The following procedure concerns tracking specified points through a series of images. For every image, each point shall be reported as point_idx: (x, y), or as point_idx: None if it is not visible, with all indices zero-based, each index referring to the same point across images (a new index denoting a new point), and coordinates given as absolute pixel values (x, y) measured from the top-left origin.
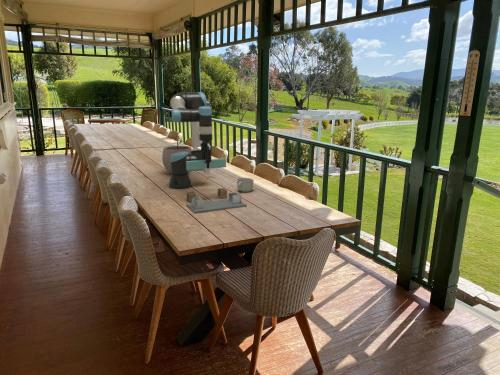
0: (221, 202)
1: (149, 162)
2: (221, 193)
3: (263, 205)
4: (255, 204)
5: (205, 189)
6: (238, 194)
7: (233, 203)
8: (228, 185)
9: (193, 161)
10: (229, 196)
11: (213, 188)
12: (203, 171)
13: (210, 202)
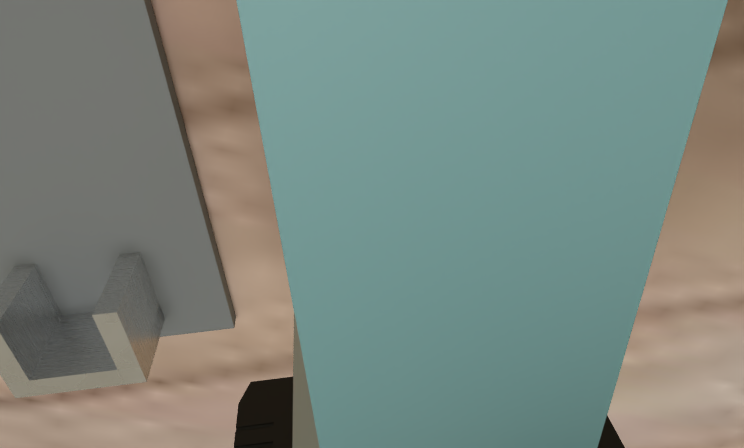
0: (95, 181)
1: None
2: None
3: (25, 439)
4: (59, 404)
5: (719, 151)
6: (35, 380)
7: (11, 273)
8: (694, 352)
9: (369, 90)
10: (104, 293)
11: (696, 229)
12: None
13: (113, 66)
